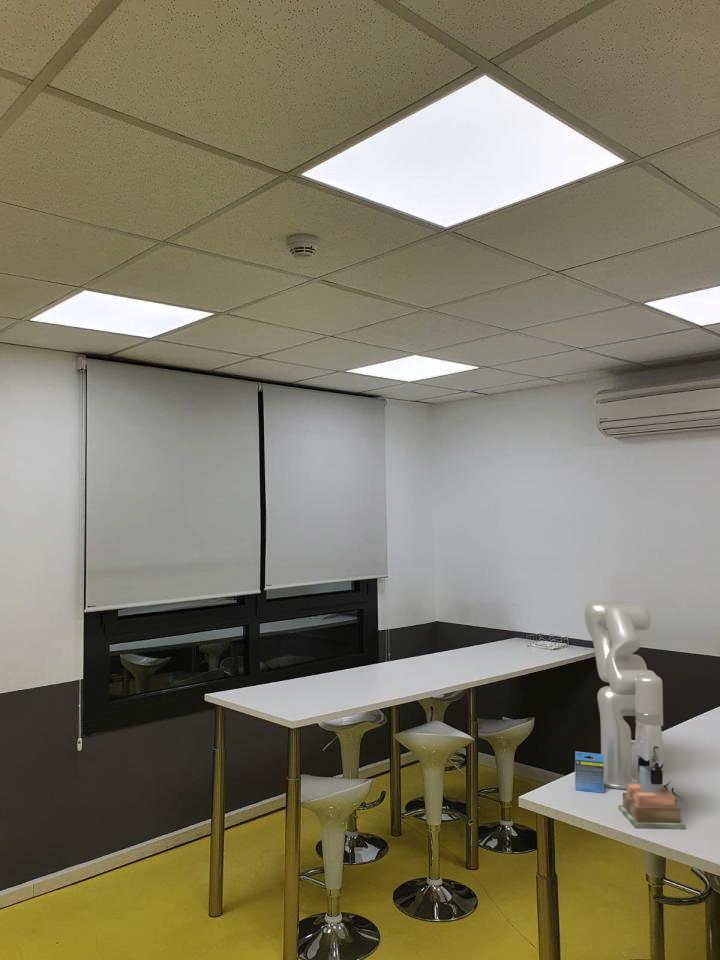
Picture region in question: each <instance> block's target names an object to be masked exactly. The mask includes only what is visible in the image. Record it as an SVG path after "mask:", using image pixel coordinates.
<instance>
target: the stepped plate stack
mask: <svg viewBox="0 0 720 960" xmlns="http://www.w3.org/2000/svg"><path fill="white" fill-rule="evenodd" d="M667 789H668V788H667ZM667 789H666V788H665V787H664V785H663V784H661V793H648V792H644V791H643V790H642V789H641V788H640V783H637V784H627V789H626V792H622V804H619V805H618V810H619V812H622V813H623V814H622V813H621V814H622V815H623V816H624V817H625V819H627V821H628V820H629V821H628V822H629V823H630V824H631V825H632V827H633V828H635V829H649V830H650V829H652V830H653V829H655V830H656V829H658V830H660V829H661V830H662V829H663V830H686V824H685V823H684V822H683V821H682V820H681V808H680V807H679V806H678V805H677V804H676V802H675V800H676V796H675V795H674V794H673V793H672V792H671V791H670V790H669V789H668V790H667Z"/></svg>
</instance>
